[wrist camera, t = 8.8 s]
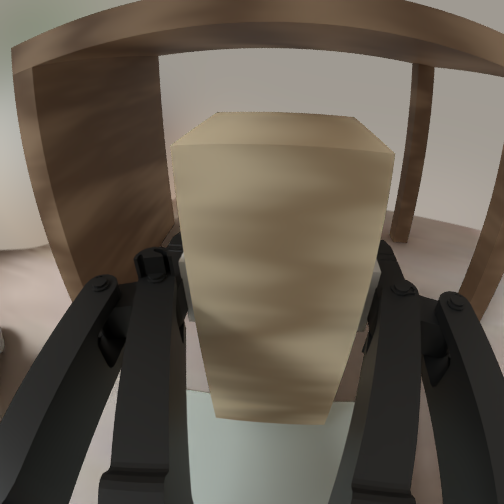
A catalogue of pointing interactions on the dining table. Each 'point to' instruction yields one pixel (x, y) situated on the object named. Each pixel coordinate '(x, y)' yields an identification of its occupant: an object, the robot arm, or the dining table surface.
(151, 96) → the small wooden table
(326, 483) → the pad
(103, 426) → the dining table surface
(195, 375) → the dining table surface
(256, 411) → the maple block
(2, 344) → the ceramic mug
